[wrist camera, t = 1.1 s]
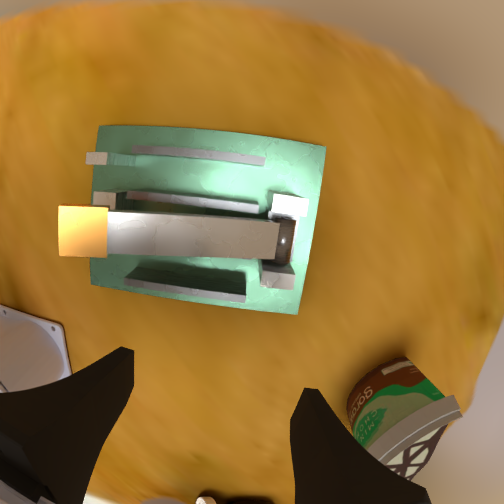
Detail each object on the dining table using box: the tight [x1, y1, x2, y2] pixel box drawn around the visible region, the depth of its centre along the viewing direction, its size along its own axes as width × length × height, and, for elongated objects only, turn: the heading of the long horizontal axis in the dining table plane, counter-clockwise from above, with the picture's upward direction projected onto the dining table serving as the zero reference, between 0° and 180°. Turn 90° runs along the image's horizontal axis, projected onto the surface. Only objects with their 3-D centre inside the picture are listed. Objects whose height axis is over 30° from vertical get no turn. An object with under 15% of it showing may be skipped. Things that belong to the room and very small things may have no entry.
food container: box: [347, 357, 463, 481], centre depth 20 cm, size 12×6×10 cm, turn 177°
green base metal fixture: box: [86, 126, 326, 314], centre depth 18 cm, size 16×12×6 cm
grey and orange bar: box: [59, 204, 296, 264], centre depth 15 cm, size 12×2×1 cm, turn 80°
